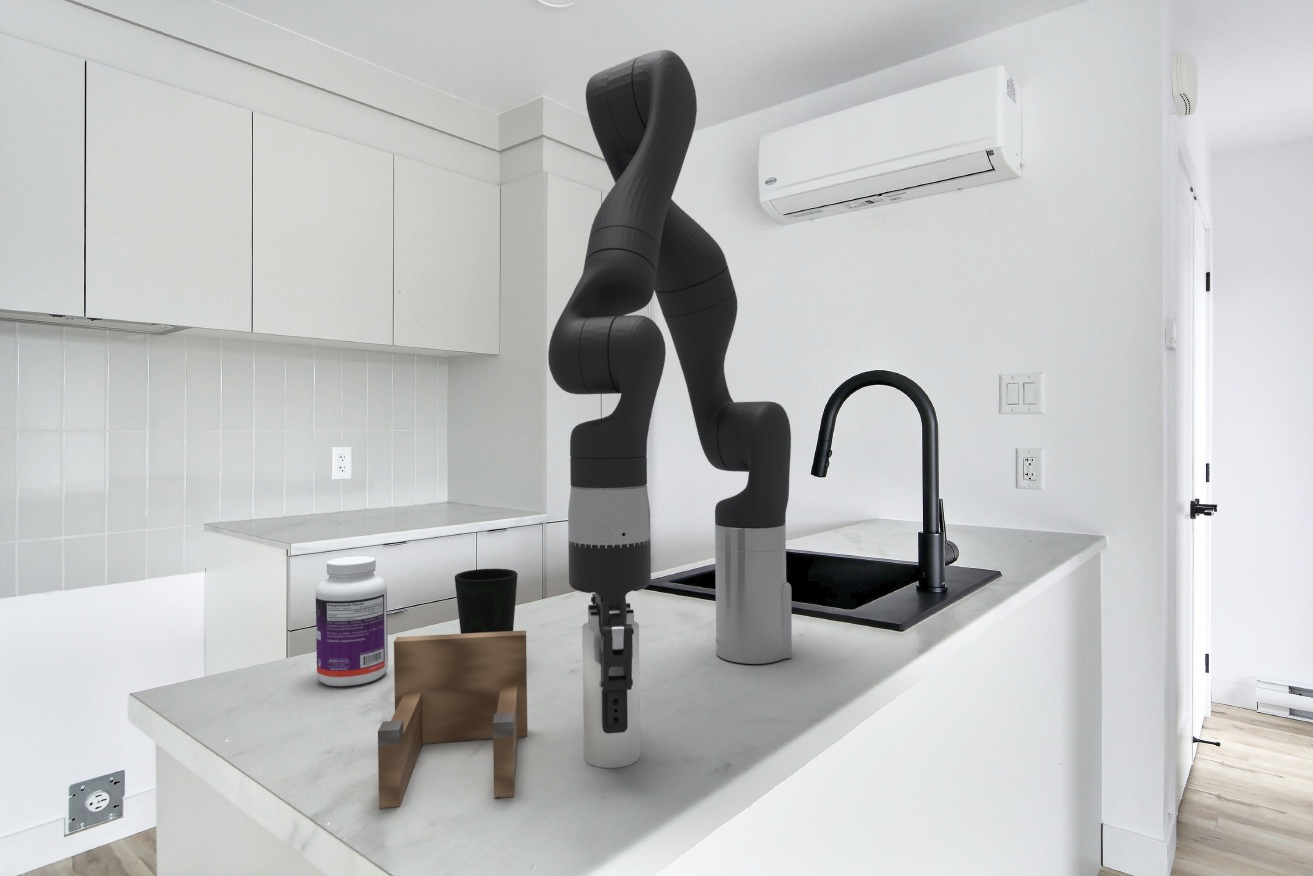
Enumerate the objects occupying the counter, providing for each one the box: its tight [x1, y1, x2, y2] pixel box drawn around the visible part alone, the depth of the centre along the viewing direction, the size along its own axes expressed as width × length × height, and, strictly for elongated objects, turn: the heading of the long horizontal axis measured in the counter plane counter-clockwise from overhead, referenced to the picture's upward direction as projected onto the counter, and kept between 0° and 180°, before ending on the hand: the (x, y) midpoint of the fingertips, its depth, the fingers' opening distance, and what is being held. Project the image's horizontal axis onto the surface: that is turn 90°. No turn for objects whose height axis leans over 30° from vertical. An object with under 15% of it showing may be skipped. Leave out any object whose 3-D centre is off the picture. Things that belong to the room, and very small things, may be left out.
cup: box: [454, 568, 519, 634], centre depth 94 cm, size 8×8×12 cm
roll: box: [581, 620, 641, 769], centre depth 69 cm, size 5×5×12 cm
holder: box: [377, 630, 528, 809], centre depth 68 cm, size 12×14×10 cm
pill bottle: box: [315, 555, 389, 687], centre depth 91 cm, size 8×8×14 cm
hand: (611, 717), depth 69 cm, fingers closed on roll, 5 cm apart
